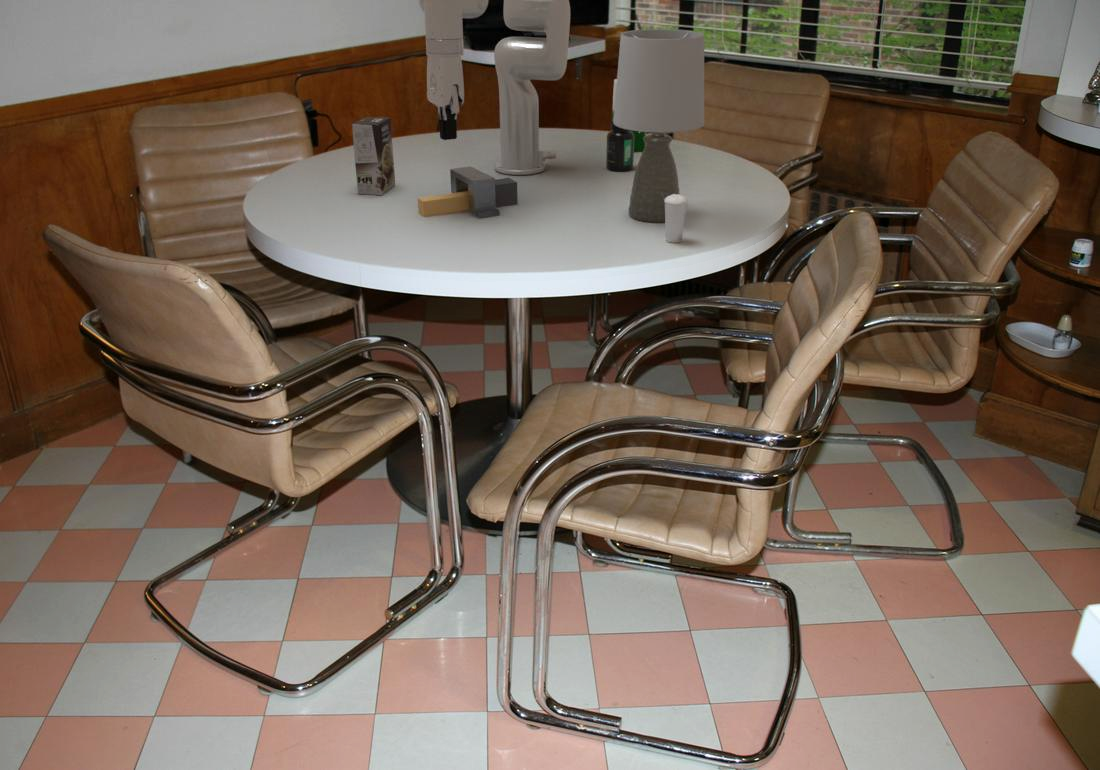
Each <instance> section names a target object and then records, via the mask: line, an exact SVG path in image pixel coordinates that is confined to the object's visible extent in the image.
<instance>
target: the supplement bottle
mask: <svg viewBox="0 0 1100 770" xmlns="http://www.w3.org/2000/svg"><path fill="white" fill-rule="evenodd" d="M610 129H611V130H610V131H608V132H607V134H606V156H605V157H606V160H605V164H606V169H607V170H608V171H610V172H617V173H619V172H620V173H623V172H630V171H632V170H633V169H634V158H635V156H634V155H635V152H634V134H633V132H632V131H630V130H628V129H623V128H620V127H618V126H616V125H614V123H613V120H612V119H611V120H610Z"/></svg>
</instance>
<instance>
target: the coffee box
mask: <svg viewBox="0 0 1100 770" xmlns="http://www.w3.org/2000/svg"><path fill="white" fill-rule="evenodd" d="M351 127H352V128H351V130H352V140H353V141H352V142H353V151H354V154H353V155H354V164H355V165H354V166H355V177H356V188H357V190H356V191H357V194H358V195H373V196H384V195H385V194H386V193H387V192H389V191H390V190H391V189H392V188H394V187H396V173H395V162H394V160H395V159H394V149H393V148H394V147H393V135H392V134H393V133H392V122H391V117H387V116H386V117H385V116H373V117H372V116H371V117H370V116H369V117H368V116H365V117H363V118H361V119H359V120H357V121H355V122H353V123H352V124H351Z"/></svg>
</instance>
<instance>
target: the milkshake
mask: <svg viewBox="0 0 1100 770" xmlns="http://www.w3.org/2000/svg"><path fill="white" fill-rule="evenodd" d="M661 194H662V193H661ZM679 194H680V193H679ZM679 194H672V195H670V196H667V197H666V198H665V200H664V206H665V222H664V225H665V228H664V229H665V242H667V243H670V244H671V243H672V244H679V243H682V241H683V236H684V227H685V221H686V215H687V210H688V209H687V207H688V202H689V201H688V199H687V198H686V196H684V195H682V194H680V195H679ZM662 196H663V195H662ZM663 199H664V198H663Z"/></svg>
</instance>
